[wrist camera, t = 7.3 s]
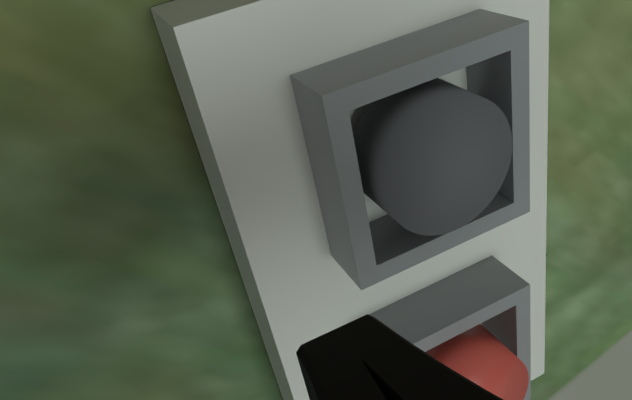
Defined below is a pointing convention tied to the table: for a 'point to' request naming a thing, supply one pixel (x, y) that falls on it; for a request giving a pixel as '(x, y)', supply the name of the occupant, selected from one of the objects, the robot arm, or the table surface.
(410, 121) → the grey button
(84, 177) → the table surface
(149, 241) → the table surface
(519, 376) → the red button
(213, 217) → the table surface
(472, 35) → the button panel
